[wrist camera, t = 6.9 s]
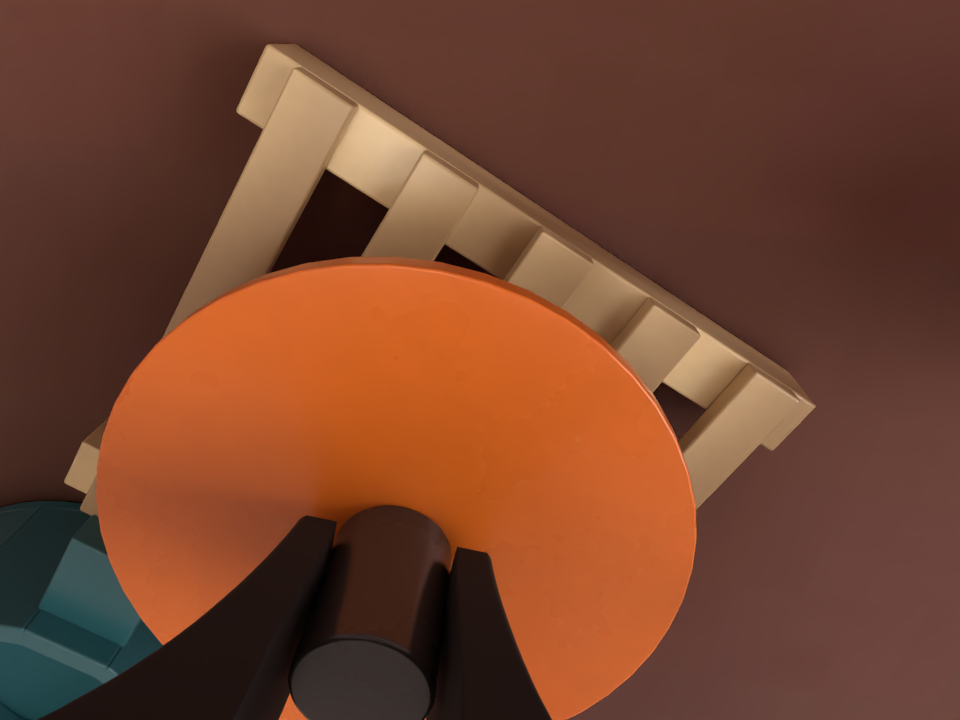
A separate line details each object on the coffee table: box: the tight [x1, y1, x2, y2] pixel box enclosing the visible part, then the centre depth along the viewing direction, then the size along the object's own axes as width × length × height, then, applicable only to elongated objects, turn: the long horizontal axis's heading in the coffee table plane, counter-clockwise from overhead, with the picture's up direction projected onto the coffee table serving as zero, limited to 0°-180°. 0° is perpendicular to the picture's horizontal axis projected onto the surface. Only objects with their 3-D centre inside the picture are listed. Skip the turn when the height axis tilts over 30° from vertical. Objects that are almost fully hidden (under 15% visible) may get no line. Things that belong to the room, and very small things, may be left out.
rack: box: [64, 44, 815, 516], centre depth 19 cm, size 15×13×3 cm
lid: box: [96, 257, 697, 720], centre depth 13 cm, size 12×12×4 cm
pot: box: [0, 501, 163, 720], centre depth 22 cm, size 11×17×5 cm
